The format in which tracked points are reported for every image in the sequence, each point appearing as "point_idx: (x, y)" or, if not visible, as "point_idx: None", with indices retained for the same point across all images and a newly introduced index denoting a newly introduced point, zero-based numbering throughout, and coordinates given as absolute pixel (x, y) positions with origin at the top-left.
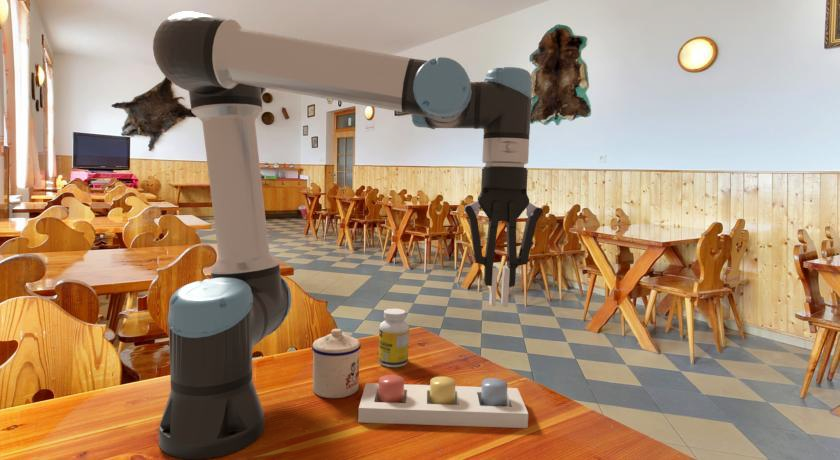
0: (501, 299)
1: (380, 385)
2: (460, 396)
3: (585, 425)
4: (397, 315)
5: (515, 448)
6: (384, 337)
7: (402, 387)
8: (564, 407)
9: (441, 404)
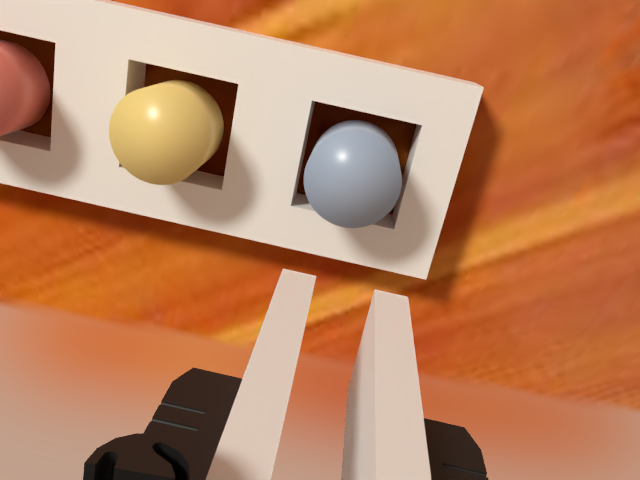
0: (371, 313)
1: None
2: (241, 128)
3: (608, 274)
4: None
5: (343, 344)
6: None
7: (16, 121)
8: (622, 154)
9: None
